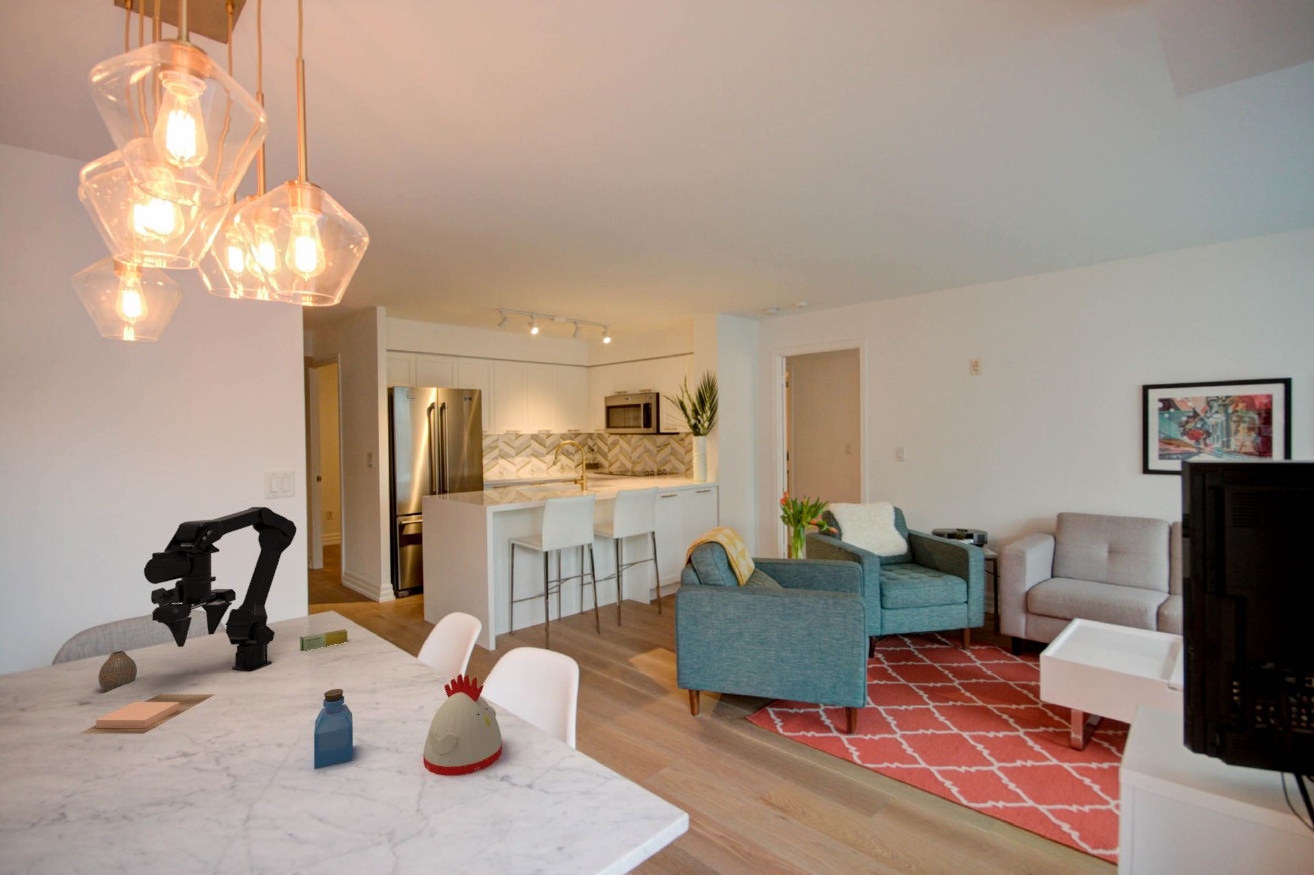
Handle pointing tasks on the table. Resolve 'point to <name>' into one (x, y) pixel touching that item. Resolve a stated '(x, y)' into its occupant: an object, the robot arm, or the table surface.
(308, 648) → the medication box
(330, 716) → the perfume bottle
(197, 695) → the board
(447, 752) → the kitchen timer
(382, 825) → the table surface
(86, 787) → the table surface
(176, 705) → the tile
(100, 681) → the vase
